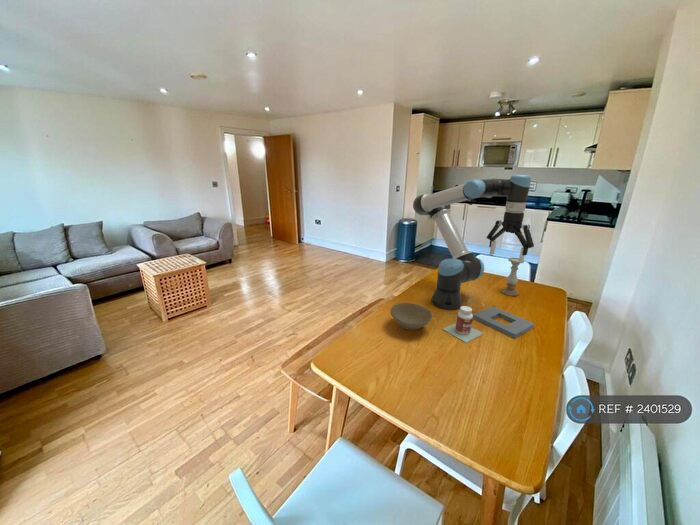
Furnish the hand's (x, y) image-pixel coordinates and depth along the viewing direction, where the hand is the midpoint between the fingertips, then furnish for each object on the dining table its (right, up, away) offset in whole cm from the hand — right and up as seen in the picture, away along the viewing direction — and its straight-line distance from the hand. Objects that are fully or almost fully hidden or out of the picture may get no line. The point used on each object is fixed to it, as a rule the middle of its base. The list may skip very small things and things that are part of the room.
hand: (505, 257), depth 128 cm
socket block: (-1, -30, +1) cm, 30 cm away
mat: (-23, -33, -7) cm, 40 cm away
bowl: (-45, -32, -3) cm, 55 cm away
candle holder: (+20, -20, +31) cm, 42 cm away
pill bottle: (-23, -32, -7) cm, 40 cm away
